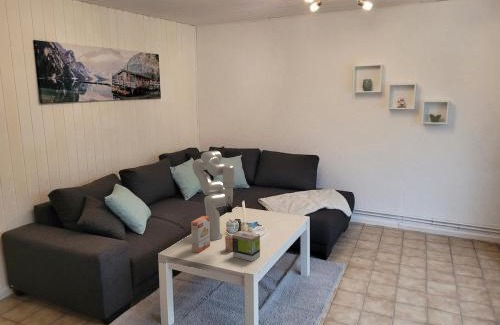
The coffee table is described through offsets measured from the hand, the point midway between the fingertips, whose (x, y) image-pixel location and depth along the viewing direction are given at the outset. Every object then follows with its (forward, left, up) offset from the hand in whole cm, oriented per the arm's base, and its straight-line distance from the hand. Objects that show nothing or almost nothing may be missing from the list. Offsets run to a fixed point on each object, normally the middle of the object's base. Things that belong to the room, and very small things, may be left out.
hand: (229, 210), depth 251 cm
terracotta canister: (0, 0, -28) cm, 28 cm away
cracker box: (-19, +4, -28) cm, 34 cm away
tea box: (+10, -11, -28) cm, 32 cm away
